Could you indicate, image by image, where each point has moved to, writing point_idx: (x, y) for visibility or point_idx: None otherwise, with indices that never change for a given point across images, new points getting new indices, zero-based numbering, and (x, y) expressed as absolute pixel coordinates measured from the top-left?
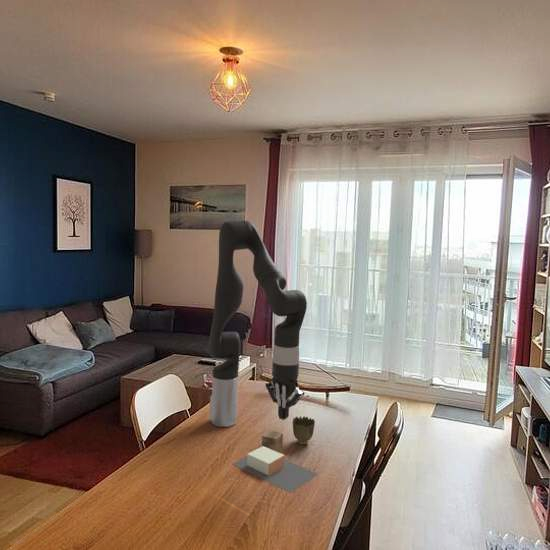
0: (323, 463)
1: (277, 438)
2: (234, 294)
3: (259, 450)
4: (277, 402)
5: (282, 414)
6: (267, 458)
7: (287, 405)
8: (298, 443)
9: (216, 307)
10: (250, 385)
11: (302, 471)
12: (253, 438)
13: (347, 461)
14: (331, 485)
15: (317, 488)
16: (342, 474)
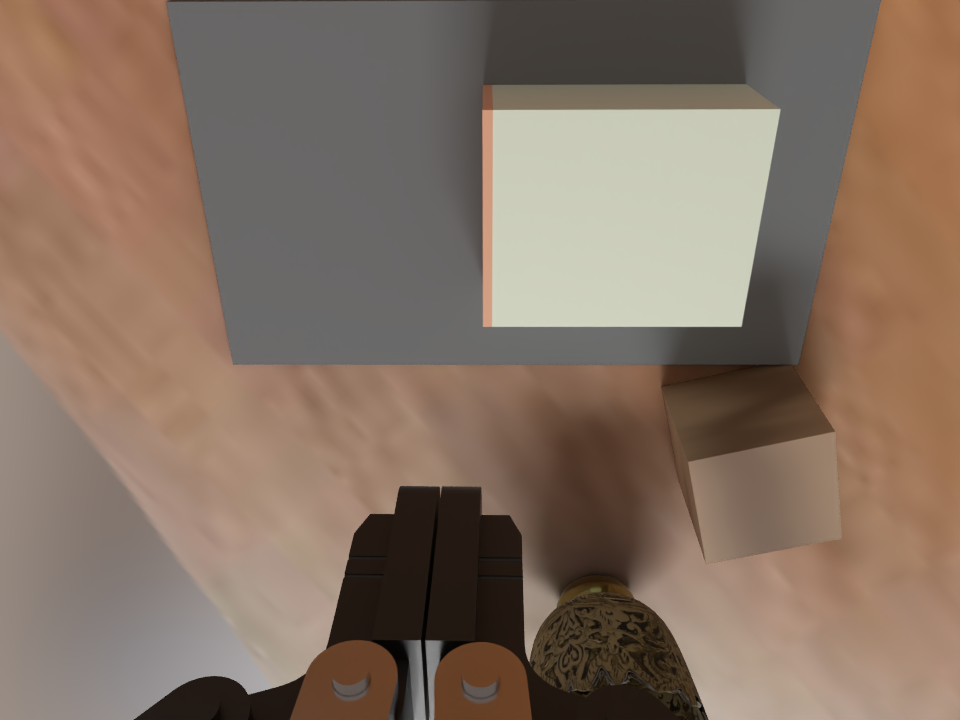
0: (322, 493)
1: (690, 477)
2: None
3: (720, 243)
4: (525, 703)
5: (399, 540)
6: (564, 178)
7: (233, 710)
8: (609, 577)
9: None
10: None
11: (334, 317)
12: (950, 453)
13: (236, 594)
14: (80, 316)
15: (109, 218)
16: (141, 465)
